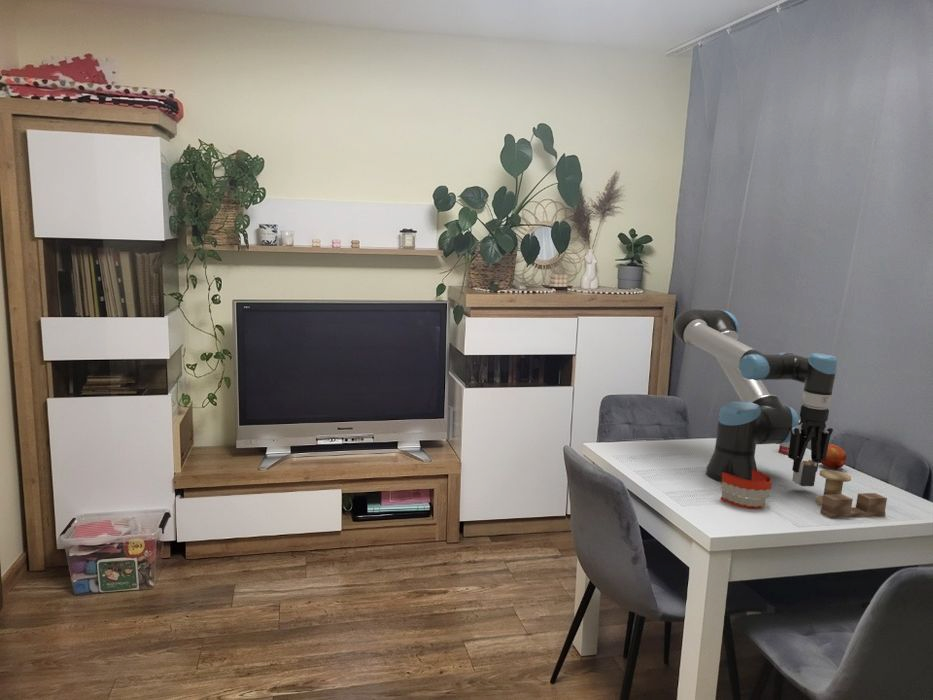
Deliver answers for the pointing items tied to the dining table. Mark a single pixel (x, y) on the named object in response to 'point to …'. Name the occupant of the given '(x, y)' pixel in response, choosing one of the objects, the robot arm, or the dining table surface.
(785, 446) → the ink box
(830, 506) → the brown wooden u-shaped block
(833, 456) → the apple
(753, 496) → the toy
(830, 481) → the wooden spool
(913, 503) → the dining table surface
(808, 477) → the dark grey rectangular block
